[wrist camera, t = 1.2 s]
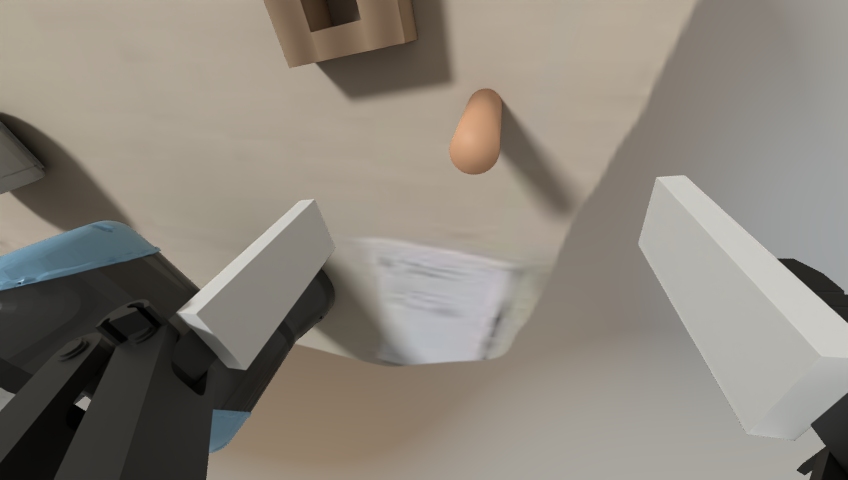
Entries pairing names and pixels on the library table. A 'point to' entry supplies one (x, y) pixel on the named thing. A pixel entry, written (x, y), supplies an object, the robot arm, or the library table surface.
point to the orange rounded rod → (478, 134)
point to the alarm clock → (16, 163)
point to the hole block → (338, 28)
